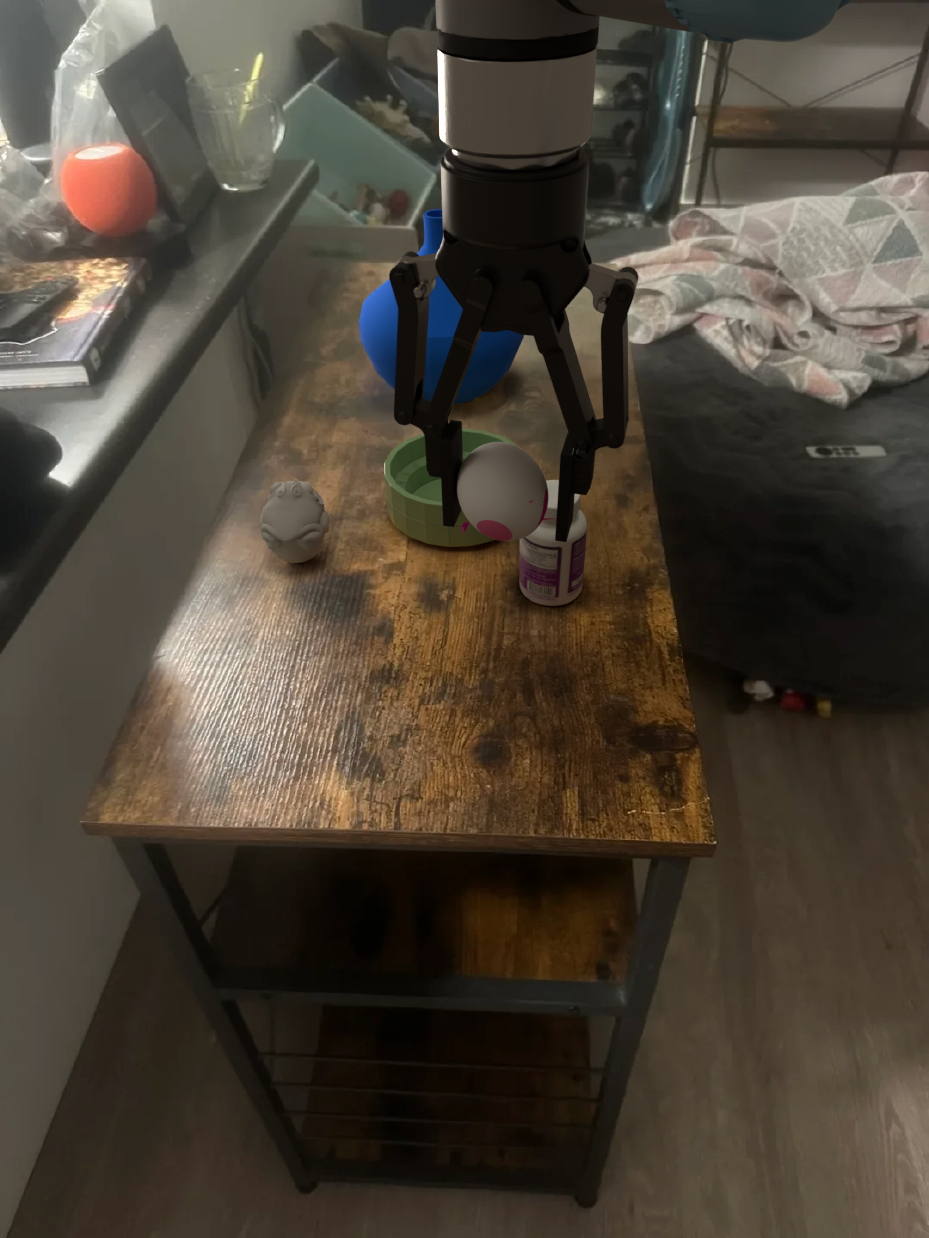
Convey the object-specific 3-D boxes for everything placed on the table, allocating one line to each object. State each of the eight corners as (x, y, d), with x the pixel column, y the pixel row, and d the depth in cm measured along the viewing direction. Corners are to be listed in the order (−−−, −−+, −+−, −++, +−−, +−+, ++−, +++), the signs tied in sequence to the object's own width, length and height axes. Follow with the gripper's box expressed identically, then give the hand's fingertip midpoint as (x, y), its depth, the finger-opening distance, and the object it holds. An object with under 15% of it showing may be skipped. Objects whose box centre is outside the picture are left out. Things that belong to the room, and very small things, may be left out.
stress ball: (537, 594, 59) (600, 525, 56) (438, 551, 55) (499, 474, 52) (517, 525, 64) (574, 458, 61) (426, 481, 61) (480, 407, 57)
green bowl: (539, 481, 87) (541, 436, 84) (510, 561, 78) (511, 514, 74) (411, 465, 90) (408, 421, 86) (369, 541, 80) (364, 495, 77)
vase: (483, 341, 111) (482, 178, 99) (550, 404, 99) (559, 226, 86) (345, 369, 106) (325, 201, 94) (397, 439, 94) (382, 257, 81)
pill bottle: (561, 561, 77) (568, 467, 71) (593, 596, 74) (603, 500, 67) (507, 579, 76) (508, 484, 69) (537, 616, 72) (541, 519, 66)
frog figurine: (339, 532, 81) (329, 467, 77) (328, 579, 76) (317, 513, 72) (274, 532, 82) (260, 467, 77) (258, 579, 76) (243, 513, 72)
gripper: (720, 136, 45) (661, 509, 60) (352, 121, 49) (385, 475, 64) (715, 180, 39) (651, 577, 55) (301, 158, 43) (350, 535, 59)
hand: (508, 521), depth 59 cm, fingers closed on stress ball, 7 cm apart
